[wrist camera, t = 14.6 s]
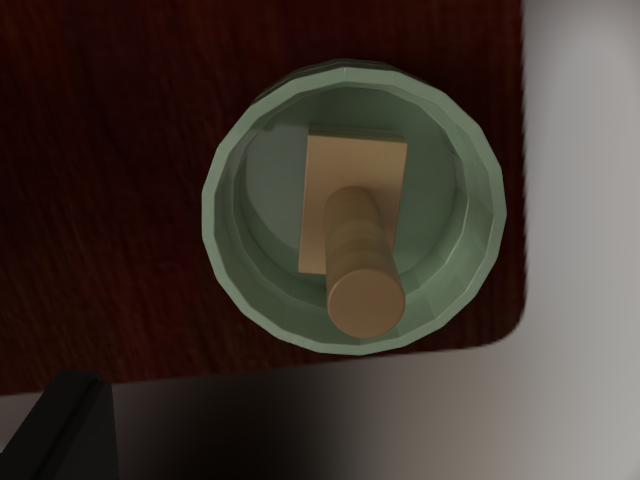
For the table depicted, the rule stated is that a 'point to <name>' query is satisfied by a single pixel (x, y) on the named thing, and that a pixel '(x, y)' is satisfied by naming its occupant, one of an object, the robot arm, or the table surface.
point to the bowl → (414, 213)
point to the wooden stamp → (354, 223)
